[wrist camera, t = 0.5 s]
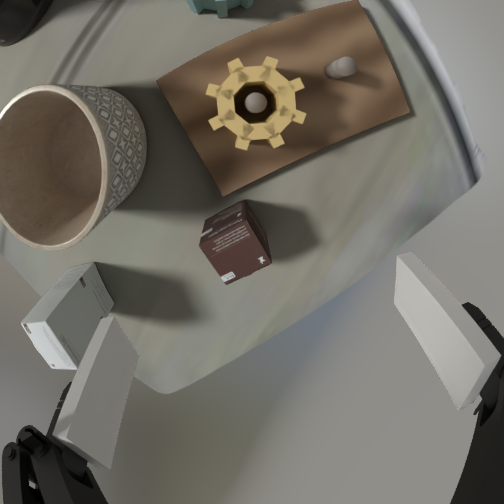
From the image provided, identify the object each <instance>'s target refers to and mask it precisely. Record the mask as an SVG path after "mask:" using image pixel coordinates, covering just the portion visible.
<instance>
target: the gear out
mask: <svg viewBox="0 0 504 504" xmlns="http://www.w3.org/2000/svg"><path fill="white" fill-rule="evenodd" d="M277 63H278V60H277V59H274V58H271V57H268V56H267V57H266V58H265V60H264V62H263V64H262V66H250V67H244V66H243V65H242V63H241V61H240V59H239V58H237V59H235V60H233V61H231V62H228V68H229V72H230V74H231V75H230V76H229V77H228V78H227V79H226V80H225V81H224V82H223V83H222V85H221V86H218V85H214V84H210V83H209V85H208V88H207V91H206V95H208V96H209V97H211V98H215V99H217V107H218V115H217V116H215V117H214V118H212V119H210V120H208V121H209V123H210V125H211V126H212V128H213V130H216V129H218V128H220V127H222V126H223V125H224V126H226V127H227V128H228V129H230V130H231V131H232V132H233V133H235V134H236V135H237V138H236V143H235V147H236V148H240V149H243V150H247V148H248V145H249V142H250V140H258V139H266V140H267V142H268V143H269V144H270V145H271V146H272V147H273V148H276V147H278V146H280V145H283V144H285V143H284V141H283V139H282V137H281V135H280V133H281V132H282V131H283V130H284V129H285V127H286V126H287V125H288V124H289V123H290V122H295V123H300V124H303V122H304V119H305V116H306V113H304V112H301V111H299V110H296V102H295V92H296V91H298V90H300V89H303V88H305V87H304V85H303V83H302V81H301V79H300V77H299V78H297V79H294V80H292V81H288V80H287V79H286V78H285V77H283V76H282V75H281V74H280V73H279V72H277V71H276V70H275V68H276V65H277ZM246 87H260V88H262V89H263V90H264V91H265V92H267V93H268V94H269V95H270V96H271V104H272V111H271V112H270V113H269V114H268V115H267V116H266V117H265V118H264V119H263V121H254V122H246V121H245V120H244V119H243V118H241V117H240V116H239V115H238V114H236V113H235V102H234V98H235V97H236V96H237V95H238V94H239V93H240V92H241V90H242V89H243V88H246Z"/></svg>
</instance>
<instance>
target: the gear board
mask: <svg viewBox="0 0 504 504" xmlns="http://www.w3.org/2000/svg"><path fill="white" fill-rule="evenodd" d="M267 56H268V57H271V58H274V59H277V60H278V63H277V65H276V68H275V70H276V71H277V72H279V73H280V74H281V75H282V76H283V77H285V78H286V79H287V80H288V81H292V80H294V79H297V78H299V77H300V79H301V81H302V83H303V85H304V87H305V88H303V89H300V90H298V91H296V92H295V102H296V110H299V111H301V112H304V113H306V116H305V119H304V122H303V124H300V123H295V122H290V123H289V124H288V125H287V126H286V127H285V129H284V130H283V131H282V132H281V133H280V135H281V137H282V139H283V141H284V143H285V144H283V145H280V146H278V147H276V148H273V147H272V146H271V145H270V144H269V143H268V142H267V140H266V139H258V140H250V142H249V145H248V148H247V150H243V149H240V148H236V147H235V143H236V138H237V135H236V134H235V133H233V132H232V131H231V130H230V129H228V128H227V127H226V126H224V125H223V126H222V127H220V128H218V129H216V130H213V128H212V126H211V125H210V123H209V121H208V120H210V119H212V118H214V117H215V116H217V115H218V107H217V99H215V98H211V97H209V96H208V95H206V91H207V88H208V85H209V83H210V84H214V85H218V86H221V85H222V83H223V82H224V81H225V80H226V79H227V78H228V77H229V76H230V75H231V74H230V72H229V68H228V62H231V61H233V60H235V59H237V58H239V59H240V61H241V63H242V65H243V66H244V67H250V66H262V64H263V62H264V60H265V58H266V57H267ZM156 82H157V84H158V86H159V87H160V89H161V91H162V92H163V94H164V96H165V97H166V99H167V101H168V103H169V104H170V106H171V108H172V109H173V111H174V113H175V115H176V116H177V118H178V120H179V121H180V123H181V125H182V127H183V128H184V130H185V132H186V133H187V135H188V137H189V139H190V140H191V142H192V144H193V146H194V147H195V149H196V151H197V152H198V154H199V156H200V158H201V159H202V161H203V163H204V164H205V166H206V168H207V170H208V171H209V173H210V175H211V176H212V178H213V180H214V182H215V183H216V185H217V187H218V189H219V190H220V192H221V194H222V195H223V197H224V196H226V195H228V194H229V193H231V192H233V191H235V190H237V189H239V188H241V187H243V186H245V185H247V184H249V183H251V182H253V181H255V180H257V179H259V178H261V177H263V176H265V175H267V174H269V173H271V172H273V171H275V170H277V169H279V168H282V167H284V166H286V165H288V164H290V163H292V162H294V161H296V160H298V159H301V158H303V157H305V156H307V155H309V154H311V153H314V152H316V151H318V150H320V149H323V148H325V147H327V146H329V145H332V144H334V143H336V142H338V141H341V140H343V139H345V138H348V137H350V136H352V135H355V134H357V133H359V132H362V131H364V130H367V129H369V128H372V127H374V126H376V125H379V124H381V123H384V122H386V121H389V120H392V119H394V118H397V117H399V116H402V115H404V114H407V113H410V110H409V107H408V104H407V102H406V99H405V96H404V94H403V91H402V88H401V86H400V83H399V81H398V78H397V76H396V74H395V71H394V69H393V67H392V64H391V62H390V60H389V58H388V56H387V53H386V51H385V49H384V47H383V45H382V43H381V41H380V39H379V37H378V35H377V33H376V31H375V29H374V28H373V26H372V24H371V22H370V20H369V18H368V17H367V15H366V13H365V11H364V10H363V8H362V6H361V5H360V3H359V1H358V0H352V1H348V2H343V3H339V4H334V5H330V6H326V7H322V8H319V9H315V10H311V11H308V12H305V13H301V14H298V15H295V16H292V17H289V18H286V19H283V20H280V21H277V22H274V23H272V24H269V25H266V26H264V27H261V28H259V29H256V30H254V31H251V32H249V33H246V34H244V35H242V36H239V37H237V38H235V39H233V40H230V41H228V42H226V43H224V44H222V45H220V46H218V47H215V48H213V49H211V50H209V51H207V52H205V53H204V54H202V55H200V56H198V57H196V58H194V59H192V60H190V61H189V62H187V63H185V64H183V65H181V66H180V67H178V68H176V69H174V70H173V71H171V72H169V73H168V74H166V75H164V76H163V77H161V78H160V79H158V80H156ZM234 102H235V113H236V114H238V115H239V116H240V117H241V118H243V119H244V120H245V121H246V122H254V121H263V119H264V118H265V117H266V116H267V115H268V114H269V113H270V112H271V111H272V104H271V96H270V95H269V94H268V93H267V92H265V91H264V90H263V89H262V88H260V87H246V88H243V89H242V90H241V92H240V93H239V94H238V95H237V96H236V97H235V98H234Z"/></svg>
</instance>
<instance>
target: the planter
mask: <svg viewBox="0 0 504 504" xmlns="http://www.w3.org/2000/svg"><path fill="white" fill-rule="evenodd" d="M146 155H147V139H146V132H145V129H144V125H143V122H142V120H141V118H140V116H139V113H138V112H137V110H136V109H135V107H134V106H133V105H132V104H131V103H130V102H129V101H128V100H127V99H126V98H125V97H124V96H122V95H121V94H119V93H118V92H116V91H113V90H111V89H107V88H103V87H94V86H81V85H61V84H44V85H37V86H34V87H30V88H28V89H26V90H24V91H22V92H20V93H19V94H18V95H17V96H15V97H14V98H13V99H12V100H11V101H10V102H9V103H8V104H7V105H6V106H5V107H4V109H3V110H2V112H1V113H0V218H1V220H2V221H3V223H4V224H5V226H6V227H7V228H8V229H9V230H10V231H11V232H12V233H13V234H14V235H15V236H16V237H17V238H18V239H20V240H21V241H23V242H24V243H26V244H27V245H30V246H32V247H34V248H37V249H41V250H46V251H57V250H63V249H66V248H69V247H71V246H73V245H75V244H77V243H78V242H80V241H81V240H82V239H83V238H84V237H85V236H87V235H88V234H89V233H90V232H91V231H92V230H93V229H94V228H95V227H96V226H97V225H98V224H99V223H100V222H101V221H102V220H103V219H104V218H105V217H106V216H107V215H108V214H109V213H110V212H111V211H112V210H114V209H115V208H116V207H117V206H118V205H119V204H120V203H121V202H122V201H123V200H125V199H126V198H127V197H128V195H129V194H130V193H131V192H132V191H133V190H134V188H135V187H136V185H137V184H138V182H139V180H140V177H141V175H142V173H143V169H144V166H145V162H146Z"/></svg>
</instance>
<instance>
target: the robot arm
mask: <svg viewBox="0 0 504 504" xmlns="http://www.w3.org/2000/svg"><path fill="white" fill-rule="evenodd" d="M52 1H53V0H0V46H9V45H12V44H14V43H16V42H17V41H19V40H20V39H22V38H23V37H24V36H26V35H27V34H28V33H29V32H30V31H31V30H32V29H33V28H34V27H35V26H36V25H37V23H38V22H39V21H40V20H41V18H42V17H43V16H44V14H45V13H46V11H47V10H48V8H49V6H50V5H51V3H52ZM394 304H395V306H396V307H397V309H398V310H399V311H400V313H401V315H402V316H403V318H404V319H405V321H406V322H407V324H408V325H409V327H410V329H411V330H412V332H413V333H414V335H415V336H416V338H417V339H418V341H419V343H420V345H421V346H422V348H423V349H424V351H425V353H426V354H427V356H428V358H429V359H430V361H431V363H432V365H433V366H434V368H435V370H436V371H437V373H438V375H439V377H440V378H441V380H442V382H443V384H444V386H445V387H446V389H447V391H448V393H449V395H450V397H451V398H452V400H453V402H454V404H455V406H456V408H457V410H458V411H459V410H461V409H463V408H465V407H466V406H468V405H470V404H472V403H474V401H475V399H476V398H477V396H478V395H479V394H480V396H481V397H482V401H481V402H480V404H479V405H478V407H477V408H476V409H475V412H474V415H476V414H477V412H478V411H479V413H478V418H477V423H476V427H475V431H474V435H473V439H472V443H471V446H470V450H469V453H468V456H467V460H466V463H465V466H464V469H463V472H462V475H461V478H460V480H459V483H458V485H457V488H456V491H455V493H454V496H453V498H452V500H451V503H450V504H504V338H503V337H502V336H501V334H500V333H499V332H498V331H497V329H496V328H495V327H494V326H492V324H491V322H490V321H489V320H488V319H486V316H485V315H484V314H483V313H482V312H481V310H480V309H479V308H478V307H476V306H474V305H473V304H471V303H469V302H467V303H465V304H462V305H461V304H460V303H459V302H458V301H457V300H456V299H455V297H454V296H453V295H452V294H451V293H450V292H449V291H448V289H447V288H446V287H445V286H444V285H443V284H442V283H441V282H440V281H439V280H438V279H437V278H436V277H435V275H434V274H433V273H432V272H431V271H430V270H429V269H428V268H427V267H426V266H425V265H424V264H423V263H422V262H421V261H420V260H419V259H418V258H417V257H416V256H415V255H414V254H413V253H412V252H407V253H404V254H400V255H397V269H396V284H395V297H394ZM138 358H139V355H138V353H137V352H136V350H135V349H134V347H133V346H132V344H131V343H130V341H129V340H128V338H127V336H126V335H125V333H124V332H123V330H122V328H121V327H120V325H119V324H118V322H117V320H116V319H115V317H114V316H113V317H107V318H102V319H101V321H100V323H99V325H98V327H97V329H96V331H95V333H94V335H93V337H92V339H91V341H90V343H89V346H88V348H87V350H86V352H85V354H84V356H83V359H82V361H81V363H80V365H79V368H78V370H77V372H76V375H75V377H74V380H73V382H70V383H69V384H68V385H67V387H66V388H65V389H64V391H63V393H62V395H61V398H60V402H59V403H58V406H57V409H56V411H55V413H54V416H53V419H52V421H51V424H50V427H49V429H48V432H47V435H46V436H44V435H43V434H42V433H41V432H40V431H38V430H37V429H36V428H35V427H33V426H31V425H28V426H25V427H23V428H22V429H21V430H20V432H19V434H18V436H17V439H16V443H15V442H11V443H8V444H7V445H6V446H5V448H4V450H3V454H2V487H3V502H4V504H108V502H107V501H106V499H105V497H104V495H103V494H102V492H101V490H100V488H99V486H98V484H97V482H96V480H95V478H94V476H93V474H92V472H91V470H90V469H89V467H87V462H89V463H91V464H93V465H94V466H95V467H99V468H104V469H111V465H112V460H113V455H114V450H115V446H116V441H117V437H118V433H119V428H120V424H121V420H122V416H123V412H124V408H125V404H126V400H127V396H128V392H129V389H130V385H131V382H132V378H133V375H134V371H135V368H136V364H137V361H138ZM29 481H31V482H33V483H34V484H35V486H36V487H35V489H34V488H32V487H30V486H29Z"/></svg>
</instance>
